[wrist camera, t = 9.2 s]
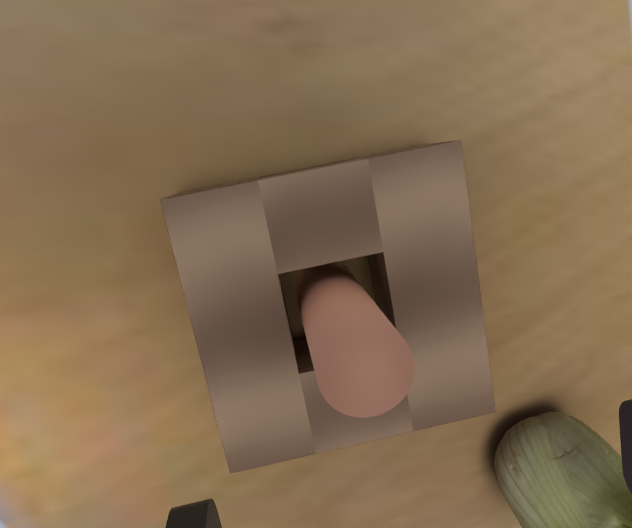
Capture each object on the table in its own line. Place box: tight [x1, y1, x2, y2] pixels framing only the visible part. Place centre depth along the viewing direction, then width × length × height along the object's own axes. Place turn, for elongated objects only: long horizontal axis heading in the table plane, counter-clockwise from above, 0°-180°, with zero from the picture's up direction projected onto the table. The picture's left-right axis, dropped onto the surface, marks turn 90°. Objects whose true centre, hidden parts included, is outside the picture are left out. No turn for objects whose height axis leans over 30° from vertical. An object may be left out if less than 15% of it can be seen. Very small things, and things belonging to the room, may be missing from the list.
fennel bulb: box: [494, 412, 632, 528], centre depth 22 cm, size 6×5×12 cm
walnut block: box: [160, 140, 496, 474], centre depth 23 cm, size 12×12×4 cm
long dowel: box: [296, 262, 415, 418], centre depth 20 cm, size 3×3×10 cm
